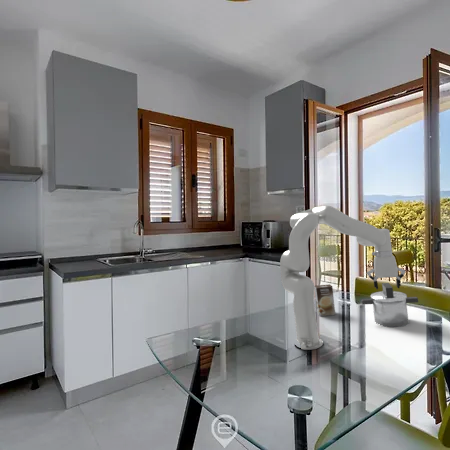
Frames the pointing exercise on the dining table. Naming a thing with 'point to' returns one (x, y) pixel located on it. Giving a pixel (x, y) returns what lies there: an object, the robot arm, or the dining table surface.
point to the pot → (391, 312)
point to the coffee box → (324, 300)
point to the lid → (388, 294)
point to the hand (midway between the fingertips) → (387, 288)
